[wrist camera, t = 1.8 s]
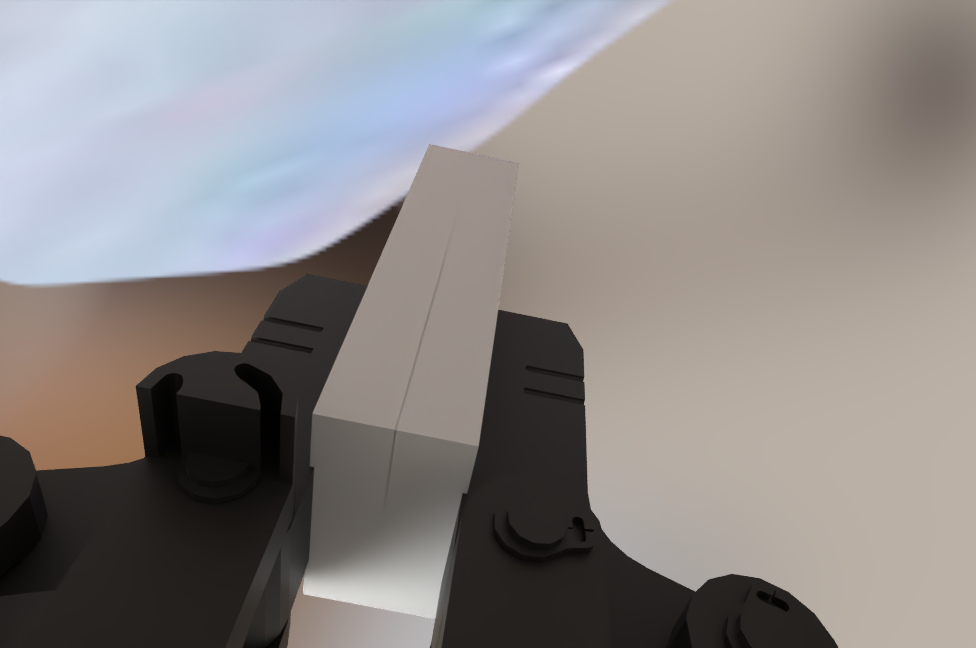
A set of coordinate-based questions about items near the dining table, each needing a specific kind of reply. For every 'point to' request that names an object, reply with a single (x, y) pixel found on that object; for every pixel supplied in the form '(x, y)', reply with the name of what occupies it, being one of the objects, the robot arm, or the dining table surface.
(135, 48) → the dining table surface
